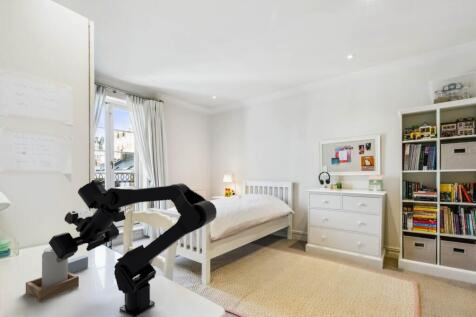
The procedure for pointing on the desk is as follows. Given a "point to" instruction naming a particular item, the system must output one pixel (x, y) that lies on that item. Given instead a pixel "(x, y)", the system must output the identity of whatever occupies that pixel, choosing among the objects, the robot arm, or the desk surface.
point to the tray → (50, 288)
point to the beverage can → (53, 269)
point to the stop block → (77, 264)
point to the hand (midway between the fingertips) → (73, 255)
